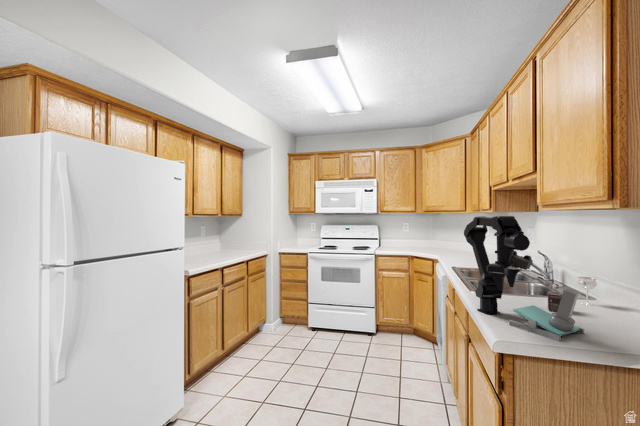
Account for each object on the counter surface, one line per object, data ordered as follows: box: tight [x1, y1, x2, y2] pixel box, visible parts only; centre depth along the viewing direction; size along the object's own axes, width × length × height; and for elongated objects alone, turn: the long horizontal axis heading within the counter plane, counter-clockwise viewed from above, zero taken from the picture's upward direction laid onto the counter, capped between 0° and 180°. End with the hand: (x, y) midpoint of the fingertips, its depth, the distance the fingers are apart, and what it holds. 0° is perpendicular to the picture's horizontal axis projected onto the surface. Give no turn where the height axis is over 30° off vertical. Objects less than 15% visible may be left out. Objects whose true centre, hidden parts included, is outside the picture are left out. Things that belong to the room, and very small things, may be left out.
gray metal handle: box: [549, 287, 580, 332], centre depth 107 cm, size 7×7×14 cm
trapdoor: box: [512, 304, 580, 337], centre depth 113 cm, size 16×12×2 cm
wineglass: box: [577, 276, 598, 307], centre depth 144 cm, size 7×7×12 cm
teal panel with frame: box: [508, 319, 585, 342], centre depth 113 cm, size 17×15×4 cm
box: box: [547, 291, 563, 312], centre depth 135 cm, size 6×6×7 cm
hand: (506, 288), depth 120 cm, fingers open, 9 cm apart
